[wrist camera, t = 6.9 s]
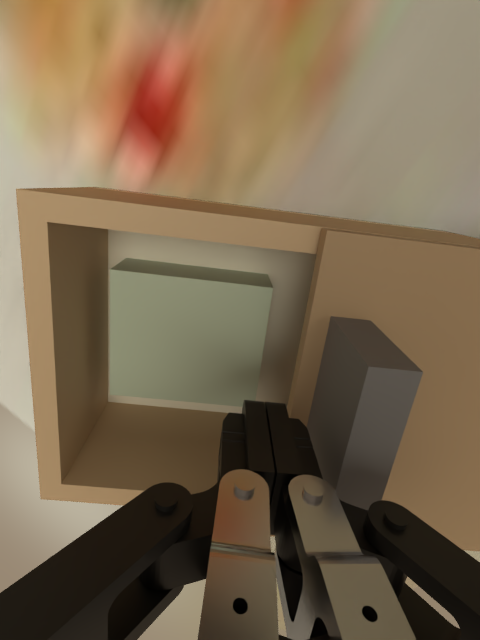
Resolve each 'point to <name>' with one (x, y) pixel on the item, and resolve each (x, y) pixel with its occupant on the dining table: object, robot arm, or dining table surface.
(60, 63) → the dining table surface
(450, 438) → the lid
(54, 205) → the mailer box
